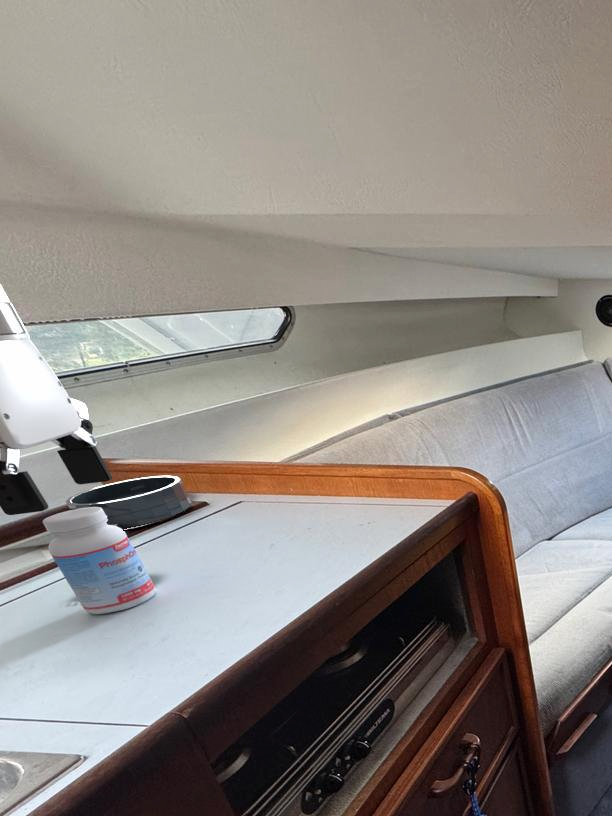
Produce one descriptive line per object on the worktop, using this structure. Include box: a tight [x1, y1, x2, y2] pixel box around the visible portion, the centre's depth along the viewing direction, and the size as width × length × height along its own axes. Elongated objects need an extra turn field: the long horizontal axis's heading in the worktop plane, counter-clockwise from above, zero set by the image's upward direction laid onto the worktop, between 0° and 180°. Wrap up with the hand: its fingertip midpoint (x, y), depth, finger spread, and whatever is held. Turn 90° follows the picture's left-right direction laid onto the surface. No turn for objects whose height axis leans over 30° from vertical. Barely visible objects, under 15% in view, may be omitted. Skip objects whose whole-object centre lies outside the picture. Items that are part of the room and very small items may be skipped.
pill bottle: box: [42, 507, 157, 615], centre depth 64 cm, size 6×6×11 cm
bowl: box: [64, 475, 193, 530], centre depth 90 cm, size 13×13×5 cm
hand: (64, 496), depth 60 cm, fingers open, 9 cm apart
